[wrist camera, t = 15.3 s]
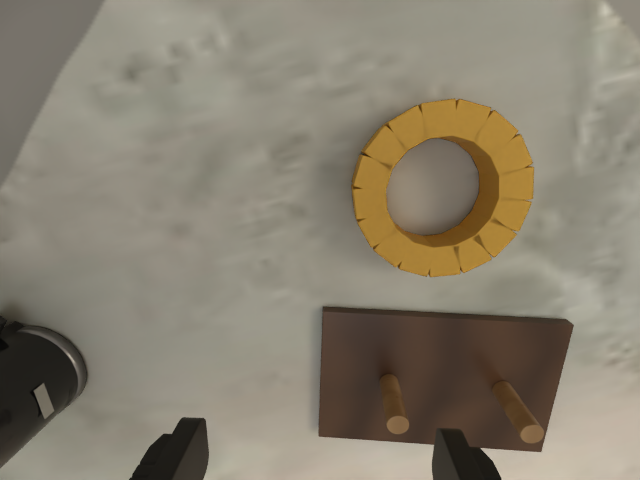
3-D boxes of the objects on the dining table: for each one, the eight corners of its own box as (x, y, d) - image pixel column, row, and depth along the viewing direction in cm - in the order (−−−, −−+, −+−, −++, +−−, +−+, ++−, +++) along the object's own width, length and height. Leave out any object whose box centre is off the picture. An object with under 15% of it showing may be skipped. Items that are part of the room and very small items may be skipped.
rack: (319, 428, 35) (314, 486, 29) (323, 306, 31) (319, 343, 25) (535, 443, 34) (577, 506, 28) (566, 319, 30) (622, 361, 24)
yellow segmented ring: (321, 201, 29) (319, 209, 25) (423, 70, 26) (436, 58, 22) (434, 288, 30) (446, 306, 27) (543, 174, 27) (573, 178, 24)
